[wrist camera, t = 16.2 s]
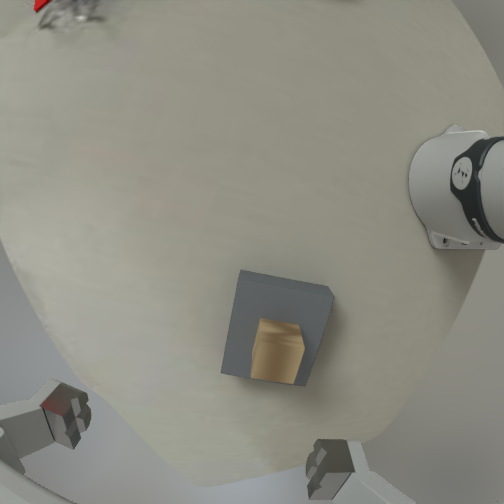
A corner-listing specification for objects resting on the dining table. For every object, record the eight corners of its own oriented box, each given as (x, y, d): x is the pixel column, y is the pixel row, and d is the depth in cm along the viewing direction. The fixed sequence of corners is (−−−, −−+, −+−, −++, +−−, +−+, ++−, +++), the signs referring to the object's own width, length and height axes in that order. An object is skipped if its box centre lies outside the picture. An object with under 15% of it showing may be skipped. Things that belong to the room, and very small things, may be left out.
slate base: (327, 286, 40) (334, 296, 36) (302, 370, 43) (305, 386, 39) (240, 269, 40) (238, 279, 36) (223, 358, 43) (220, 373, 39)
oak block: (298, 324, 37) (304, 348, 31) (289, 357, 38) (293, 384, 32) (259, 317, 37) (259, 341, 31) (252, 351, 38) (250, 377, 32)
